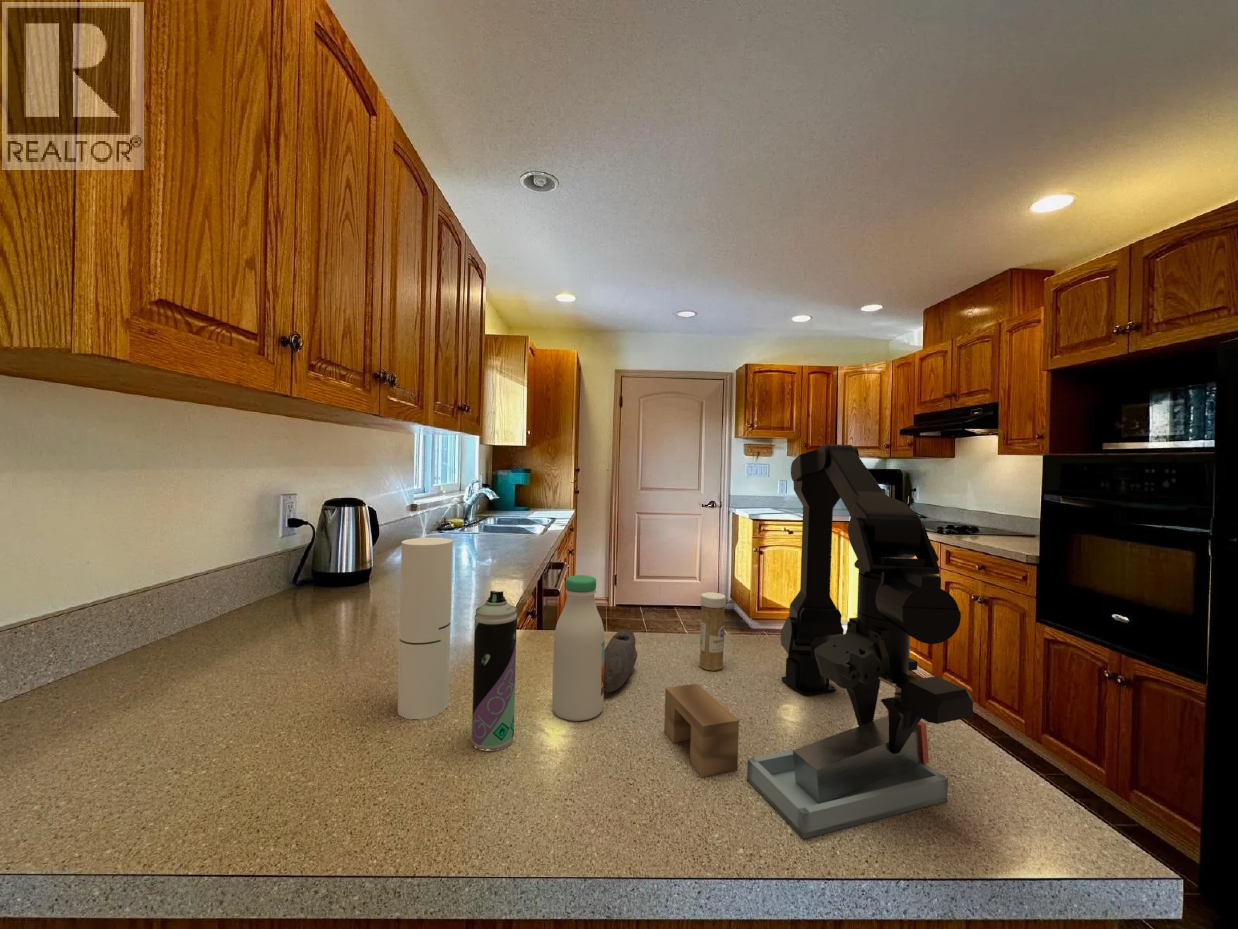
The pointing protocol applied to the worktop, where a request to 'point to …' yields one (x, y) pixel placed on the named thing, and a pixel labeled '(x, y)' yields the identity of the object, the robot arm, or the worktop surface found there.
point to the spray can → (494, 673)
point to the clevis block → (702, 729)
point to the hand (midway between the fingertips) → (879, 743)
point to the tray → (848, 810)
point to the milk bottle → (578, 654)
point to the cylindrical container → (424, 627)
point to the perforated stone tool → (619, 659)
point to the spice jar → (712, 631)
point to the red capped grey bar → (855, 759)
